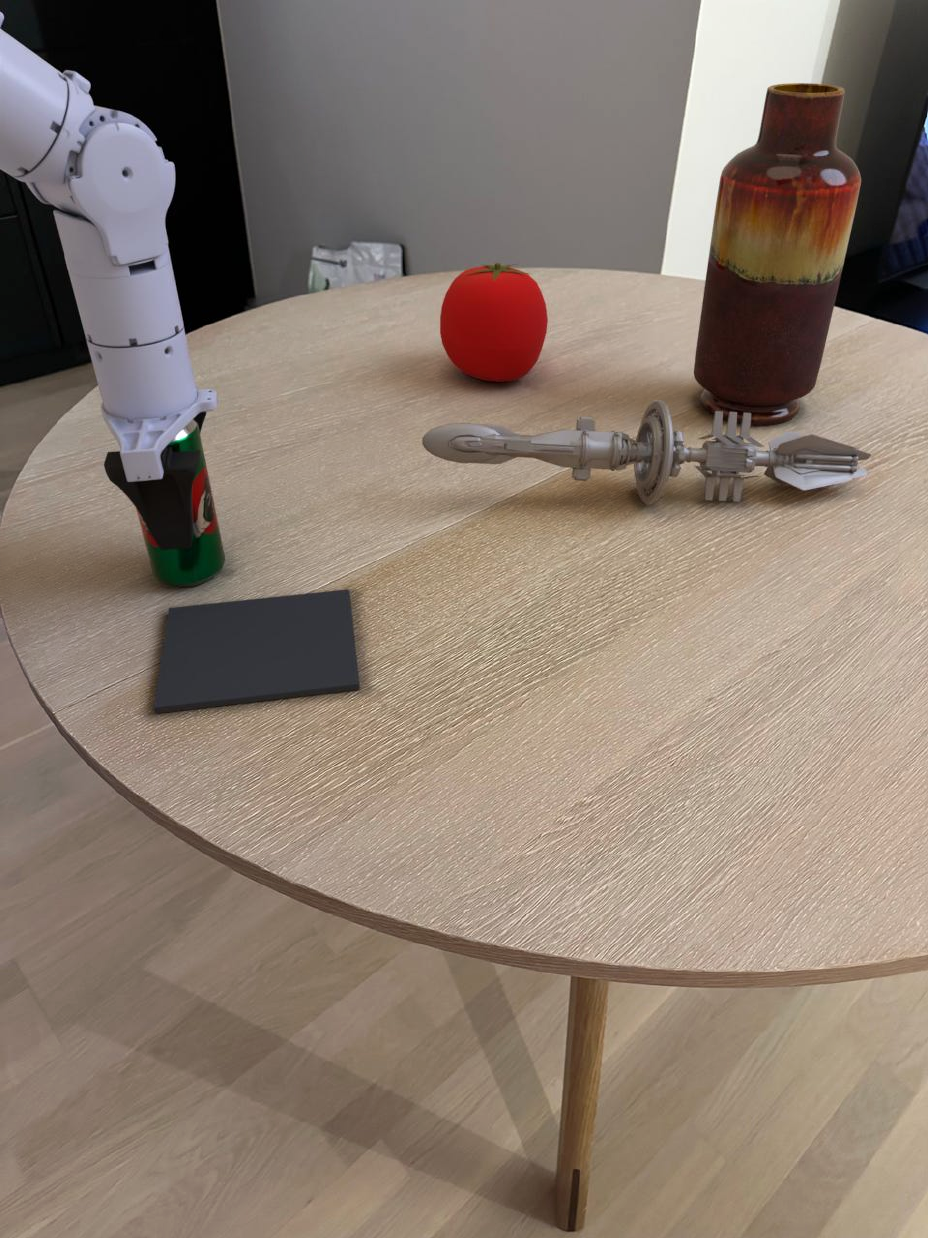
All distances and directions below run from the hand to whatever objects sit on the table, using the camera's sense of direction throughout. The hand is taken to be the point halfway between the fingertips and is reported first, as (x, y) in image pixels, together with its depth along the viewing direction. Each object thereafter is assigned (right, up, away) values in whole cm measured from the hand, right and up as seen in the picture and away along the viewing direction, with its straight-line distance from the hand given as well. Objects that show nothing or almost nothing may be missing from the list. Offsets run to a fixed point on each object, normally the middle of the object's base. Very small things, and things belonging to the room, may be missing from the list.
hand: (179, 525), depth 64 cm
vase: (+46, +13, +23) cm, 54 cm away
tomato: (+23, +18, +30) cm, 42 cm away
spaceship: (+34, +3, +10) cm, 35 cm away
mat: (+7, -8, -5) cm, 12 cm away
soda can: (0, -3, +2) cm, 4 cm away
